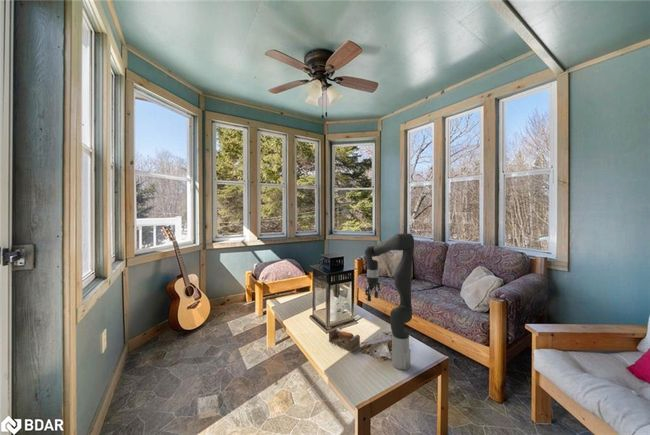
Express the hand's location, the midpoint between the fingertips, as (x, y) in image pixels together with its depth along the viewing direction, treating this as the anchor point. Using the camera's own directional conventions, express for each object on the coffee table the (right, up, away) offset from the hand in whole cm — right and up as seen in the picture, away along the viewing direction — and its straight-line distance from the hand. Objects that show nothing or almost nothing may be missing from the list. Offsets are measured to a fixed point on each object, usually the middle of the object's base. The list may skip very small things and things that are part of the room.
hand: (372, 299), depth 168 cm
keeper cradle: (-20, -28, -3) cm, 35 cm away
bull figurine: (-20, -27, -3) cm, 34 cm away
